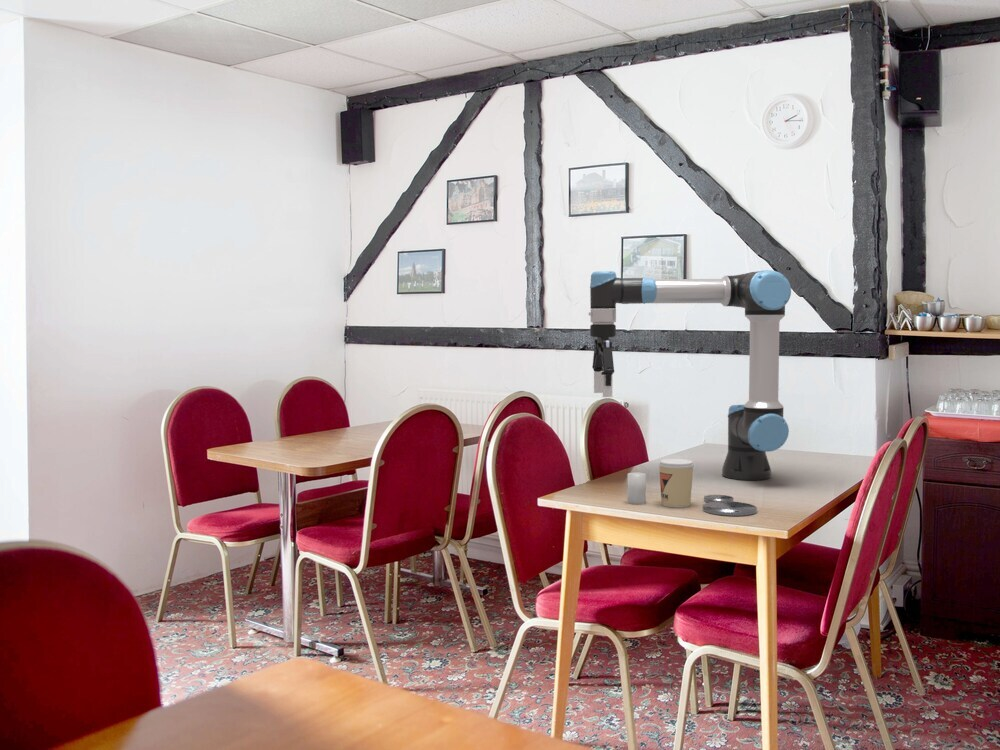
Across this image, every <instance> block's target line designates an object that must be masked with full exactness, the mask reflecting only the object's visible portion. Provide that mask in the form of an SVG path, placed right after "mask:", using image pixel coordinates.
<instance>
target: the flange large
mask: <svg viewBox="0 0 1000 750" xmlns="http://www.w3.org/2000/svg"><path fill="white" fill-rule="evenodd" d="M702 511H703V512H704V513H707V514H710V515H713V516H721V517H746V516H747V517H748V516H752V515H755V514H757V512H758V508H757V506H756V505H754V504H751V503H746V502H741V501H733V502H730V501H718V502H709V503H707V502H704V504H702Z"/></svg>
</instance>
